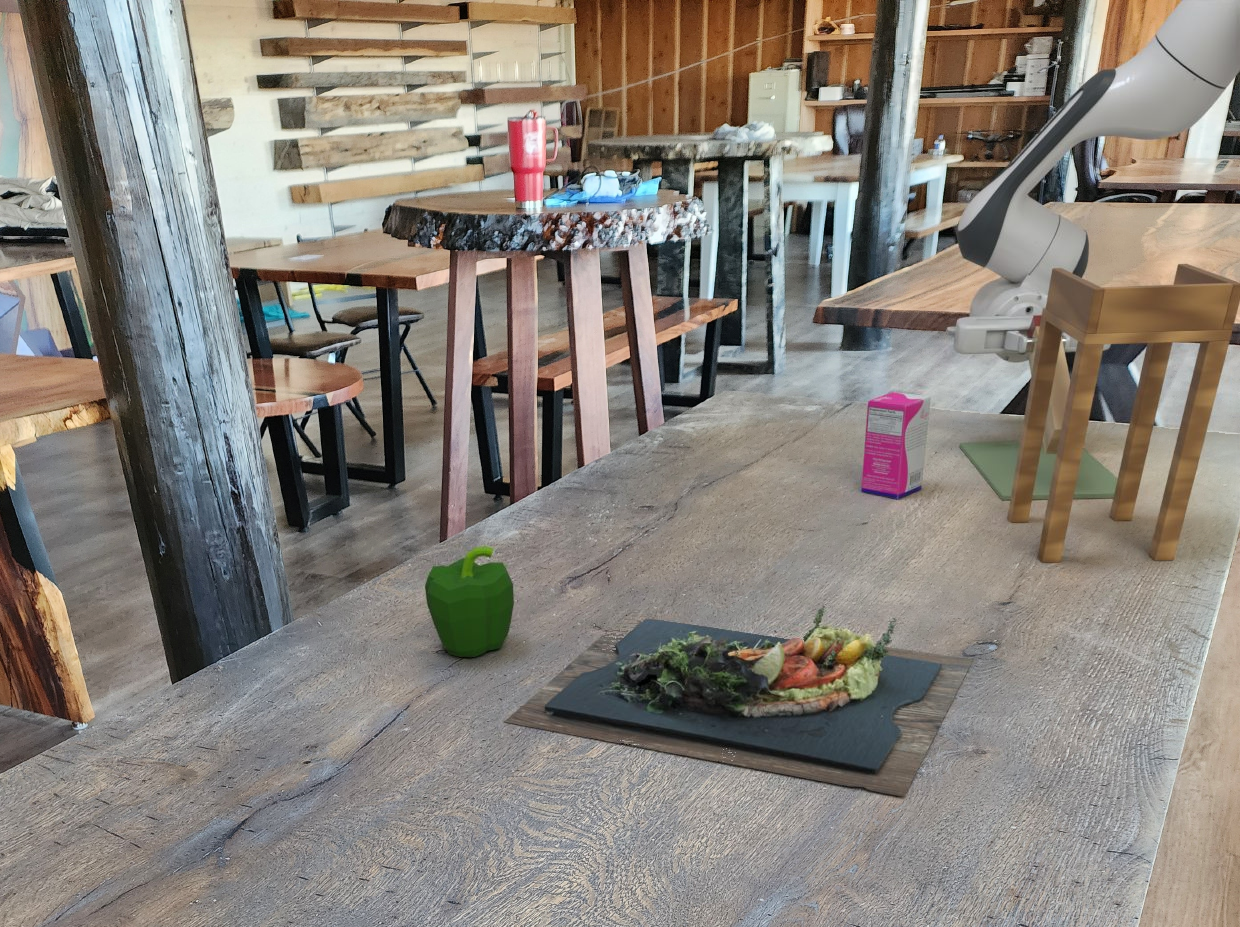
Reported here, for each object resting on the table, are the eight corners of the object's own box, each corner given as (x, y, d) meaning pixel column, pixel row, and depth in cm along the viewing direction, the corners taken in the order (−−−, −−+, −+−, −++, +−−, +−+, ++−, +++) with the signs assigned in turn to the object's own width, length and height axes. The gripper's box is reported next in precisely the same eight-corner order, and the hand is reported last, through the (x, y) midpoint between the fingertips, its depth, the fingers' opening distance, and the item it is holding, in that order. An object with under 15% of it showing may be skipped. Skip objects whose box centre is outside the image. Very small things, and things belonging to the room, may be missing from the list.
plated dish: (974, 656, 109) (986, 580, 105) (910, 804, 88) (921, 717, 84) (627, 613, 122) (624, 544, 118) (501, 733, 102) (493, 654, 97)
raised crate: (1126, 515, 141) (1184, 261, 126) (1173, 560, 128) (1244, 283, 112) (1007, 517, 142) (1049, 266, 127) (1041, 562, 129) (1094, 288, 113)
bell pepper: (415, 659, 113) (403, 558, 108) (453, 628, 120) (444, 530, 114) (494, 670, 111) (486, 566, 105) (529, 637, 117) (523, 537, 111)
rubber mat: (1073, 443, 168) (1074, 439, 167) (1133, 497, 146) (1134, 492, 146) (959, 446, 169) (959, 442, 169) (1001, 500, 148) (1002, 495, 147)
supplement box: (883, 481, 156) (893, 390, 150) (922, 489, 152) (934, 395, 146) (858, 491, 153) (867, 398, 146) (897, 499, 149) (908, 404, 143)
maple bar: (1048, 341, 155) (1058, 314, 152) (1070, 454, 147) (1080, 428, 143) (1024, 341, 155) (1033, 314, 152) (1044, 454, 147) (1054, 429, 143)
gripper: (946, 303, 162) (967, 320, 150) (1099, 298, 160) (1132, 315, 149) (940, 352, 165) (960, 373, 154) (1089, 348, 164) (1120, 369, 153)
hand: (1046, 345), depth 151 cm, fingers closed on maple bar, 3 cm apart
